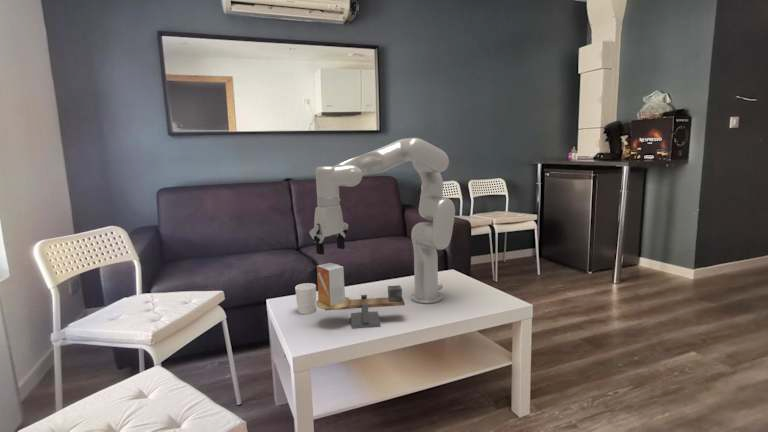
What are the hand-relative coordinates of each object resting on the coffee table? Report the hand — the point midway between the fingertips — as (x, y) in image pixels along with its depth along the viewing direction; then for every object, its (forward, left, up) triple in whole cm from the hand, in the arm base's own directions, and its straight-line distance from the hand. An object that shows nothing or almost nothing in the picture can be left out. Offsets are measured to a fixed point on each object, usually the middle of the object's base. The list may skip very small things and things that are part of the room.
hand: (331, 251), depth 143 cm
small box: (+1, 0, -18) cm, 18 cm away
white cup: (-2, -17, -26) cm, 32 cm away
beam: (-7, +7, -21) cm, 23 cm away
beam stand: (-8, +8, -26) cm, 28 cm away
